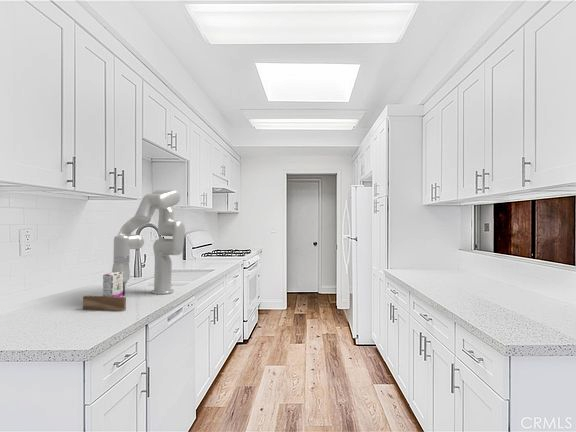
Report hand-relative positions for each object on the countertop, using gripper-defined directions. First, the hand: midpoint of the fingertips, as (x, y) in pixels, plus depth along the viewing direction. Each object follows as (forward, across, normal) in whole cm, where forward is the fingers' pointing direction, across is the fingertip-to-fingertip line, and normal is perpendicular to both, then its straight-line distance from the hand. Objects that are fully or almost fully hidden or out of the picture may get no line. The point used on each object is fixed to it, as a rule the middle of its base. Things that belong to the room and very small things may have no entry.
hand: (120, 296), depth 206 cm
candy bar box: (+4, +9, +1) cm, 10 cm away
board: (+3, +15, 0) cm, 16 cm away
